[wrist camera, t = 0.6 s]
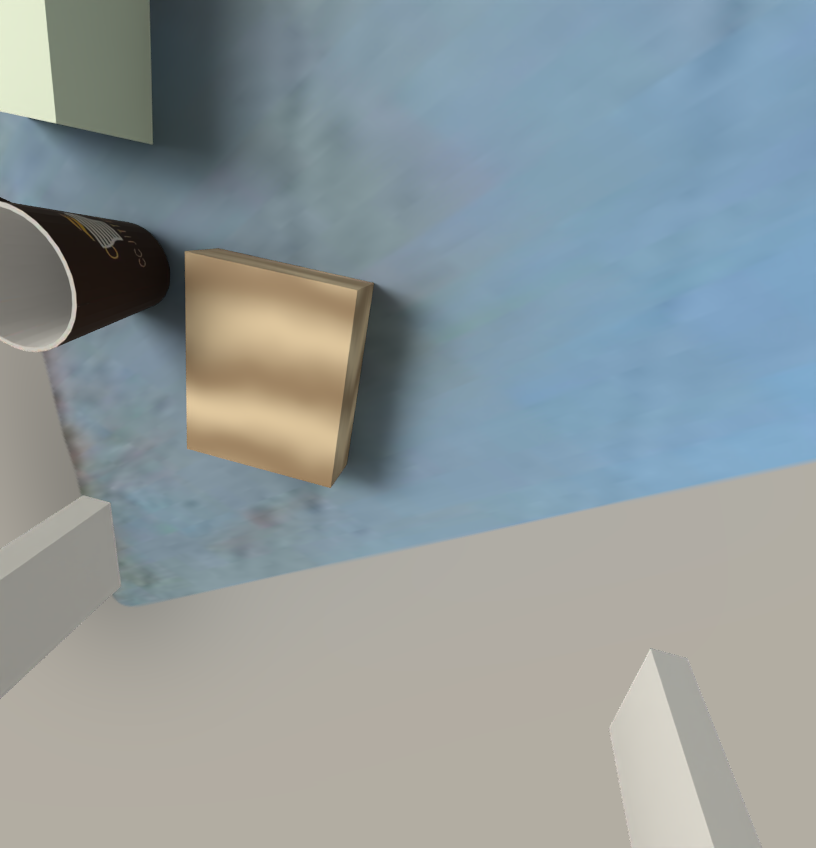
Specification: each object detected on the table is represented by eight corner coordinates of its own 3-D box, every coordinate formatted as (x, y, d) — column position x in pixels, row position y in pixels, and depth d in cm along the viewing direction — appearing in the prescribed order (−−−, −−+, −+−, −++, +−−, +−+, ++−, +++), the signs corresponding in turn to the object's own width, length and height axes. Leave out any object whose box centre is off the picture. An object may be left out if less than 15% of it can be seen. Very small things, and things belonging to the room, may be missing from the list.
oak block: (218, 248, 35) (184, 251, 32) (373, 282, 34) (357, 290, 30) (215, 428, 41) (187, 448, 38) (346, 464, 40) (330, 487, 37)
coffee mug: (203, 299, 37) (103, 323, 28) (123, 337, 40) (9, 370, 31) (120, 141, 34) (-23, 111, 25) (39, 194, 36) (-116, 185, 27)
